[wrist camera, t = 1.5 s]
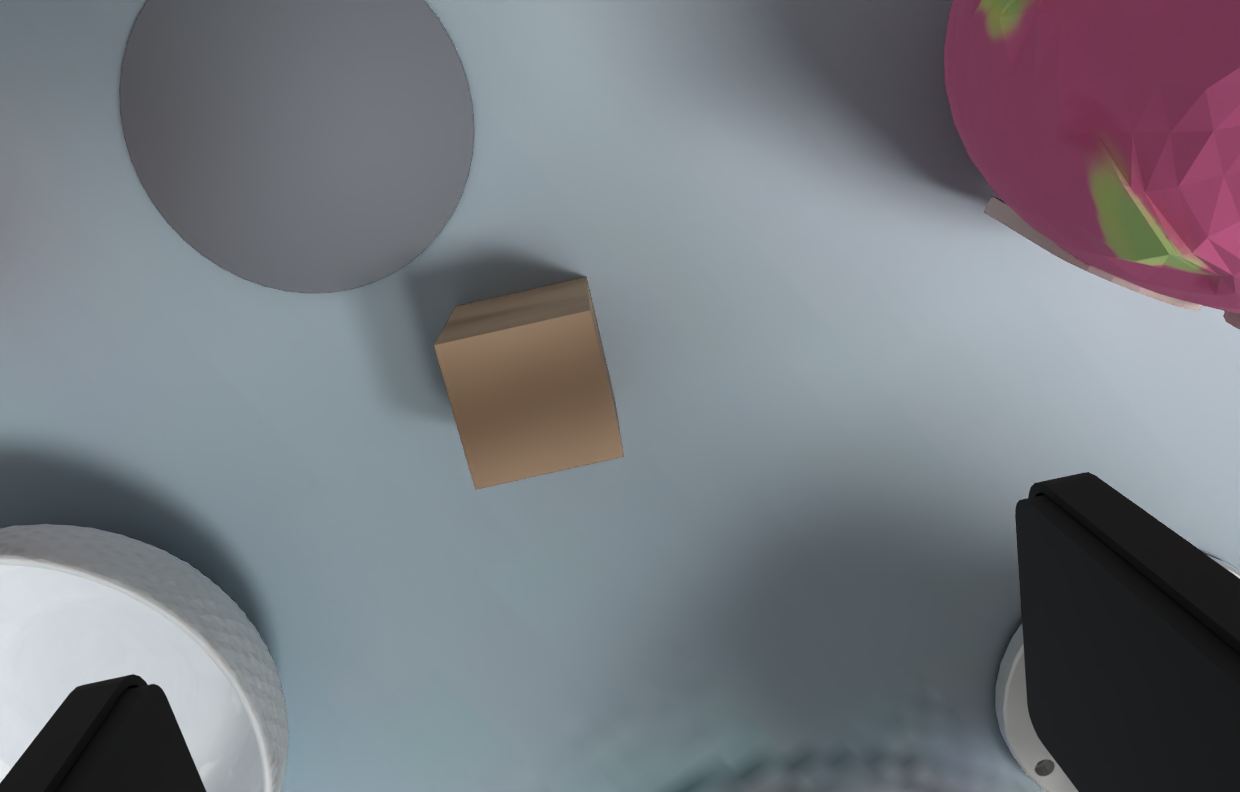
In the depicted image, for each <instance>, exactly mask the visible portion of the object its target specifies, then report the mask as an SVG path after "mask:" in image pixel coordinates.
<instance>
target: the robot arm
mask: <svg viewBox="0 0 1240 792" xmlns="http://www.w3.org/2000/svg"><path fill="white" fill-rule="evenodd" d="M1015 516H1016V532H1017V548H1018V564H1019V580H1020V596H1021V612H1022V624H1021V625H1020V627H1019V628H1018V630H1017V631H1016V633H1015V634H1014V636H1013V637H1012V638H1011V641H1010V643H1009V645H1008V647H1007V650H1006V652H1005V654H1004V657H1003V659H1002V661H1001V664H1000V669H999V673H998V678H997V682H996V703H995V710H996V715H997V719H998V723H999V728H1000V732H1001V734H1002V736H1003V738H1004V740H1005V742H1006V744H1007V746H1008V748H1009V750H1010V752H1011V754H1012V755H1013V756H1014V758H1015V759H1016V760H1017V762H1018V763H1019V765H1020V766H1021V767H1022V769H1023V770H1024V772H1025V773H1026V774H1027V775H1028V776H1029V777H1030V778H1031V779H1032V780H1033V781H1034V782H1035V783H1036V784H1037V785H1039V786H1040V787H1041V788H1042V789H1044V790H1045V791H1047V792H1240V571H1239V570H1237V569H1236V568H1234V567H1233V566H1231V565H1230V564H1228V563H1226V562H1223V561H1221V560H1218V559H1216V558H1213V557H1211V556H1209V555H1206V554H1205V553H1203V552H1202V551H1200V550H1199V549H1198V548H1196V547H1195V546H1193V545H1192V544H1191V543H1189V542H1188V541H1186V540H1185V539H1184V538H1182V537H1181V536H1179V535H1178V534H1177V533H1175V532H1174V531H1172V530H1171V529H1170V528H1168V527H1167V526H1165V525H1164V524H1163V523H1161V522H1160V521H1158V520H1157V519H1155V518H1154V517H1153V516H1151V515H1150V514H1148V513H1147V512H1146V511H1144V510H1143V509H1141V508H1140V507H1139V506H1137V505H1136V504H1134V503H1133V502H1132V501H1130V500H1129V499H1127V498H1126V497H1125V496H1123V495H1122V494H1120V493H1119V492H1118V491H1116V490H1115V489H1113V488H1112V487H1111V486H1109V485H1108V484H1106V483H1105V482H1104V481H1102V480H1101V479H1099V478H1098V477H1097V476H1095V475H1093V474H1091V473H1089V472H1087V473H1081V474H1076V475H1071V476H1067V477H1062V478H1057V479H1052V480H1048V481H1043V482H1038V483H1034V485H1033V486H1032V487H1031V489H1030V492H1029V498H1027V499H1023V500H1020V501H1019V502H1018V503H1017V506H1016V515H1015ZM0 792H206V789H205V787H204V785H203V782H202V780H201V778H200V775H199V773H198V770H197V768H196V766H195V763H194V761H193V758H192V756H191V754H190V751H189V749H188V746H187V744H186V742H185V739H184V737H183V735H182V732H181V730H180V727H179V725H178V723H177V720H176V718H175V715H174V713H173V711H172V708H171V706H170V704H169V701H168V699H167V696H166V695H165V693H164V691H163V689H162V688H161V687H160V686H158V685H156V684H150V685H148V684H147V683H146V681H145V680H143V679H142V678H141V677H140V676H138V675H134V674H132V675H127V676H122V677H118V678H113V679H108V680H104V681H99V682H94V683H89V684H85V685H81V686H77V687H76V688H75V689H74V690H73V691H72V692H70V694H69V695H68V696H67V698H66V699H65V700H64V701H63V703H62V704H61V705H60V707H59V708H58V709H57V710H56V712H55V713H54V714H53V716H52V717H51V718H50V719H49V721H48V722H47V723H46V725H45V726H44V727H43V729H42V730H41V731H40V732H39V734H38V735H37V736H36V738H35V739H34V740H33V741H32V743H31V744H30V745H29V747H28V748H27V749H26V750H25V752H24V753H23V754H22V756H21V757H20V758H19V760H18V761H17V762H16V763H15V765H14V766H13V767H12V769H11V770H10V771H9V772H8V774H7V775H6V776H5V778H4V779H3V780H2V781H1V783H0Z"/></svg>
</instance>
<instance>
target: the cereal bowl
mask: <svg viewBox="0 0 1240 792" xmlns="http://www.w3.org/2000/svg"><path fill="white" fill-rule="evenodd" d="M132 674H134V675H138V676H140V677H141V678H142V679H143V680H145V681H146V683H147V684H148V685H150V684H156V685H158V686H160V687H161V688H162V689H163V691H164V693H165V695H166V696H167V699H168V701H169V704H170V706H171V708H172V711H173V713H174V715H175V718H176V720H177V723H178V725H179V727H180V730H181V732H182V735H183V737H184V739H185V742H186V744H187V746H188V749H189V751H190V754H191V756H192V758H193V761H194V763H195V766H196V768H197V770H198V773H199V775H200V778H201V780H202V782H203V785H204V787H205V789H206V792H282V785H283V782H284V779H285V775H286V763H287V757H288V741H289V733H288V719H287V711H286V702H285V697H284V694H283V691H282V686H281V681H280V677H279V675H278V672H277V667H276V665H275V663H274V662H273V659H272V657H271V656H270V654H269V651H268V648H267V645H266V644H265V643H264V642H263V640H262V638H261V637H260V633H259V632H258V631H257V630H256V628H255V626H254V625H253V624H252V623H251V622H250V621H249V620H248V618H247V616H246V614H245V613H244V612H243V611H242V610H241V609H239V607H238V605H237V603H235V602H234V601H233V600H232V599H231V598H230V597H229V596H228V595H227V594H226V593H224V592H223V591H222V590H221V588H220V587H219V586H218V585H216V584H214V583H213V582H212V581H211V580H210V579H209V578H207V577H206V576H204V575H202V574H201V572H200V571H199V570H198V569H195V568H193V567H192V566H191V565H190V564H189V563H187V562H184V561H182V560H180V559H179V558H177V557H175V556H173V555H171V554H169V553H168V552H167V551H164V550H161V549H159V548H157V547H154V546H153V545H150V544H146V543H143V542H141V541H139V540H136V539H132V538H129V537H126V536H124V535H122V534H116V533H112V532H108V531H102V530H98V529H95V528H87V527H79V526H69V525H50V524H38V525H20V526H10V527H6V528H0V783H1V781H2V780H3V779H4V778H5V776H6V775H7V774H8V772H9V771H10V770H11V769H12V767H13V766H14V765H15V763H16V762H17V761H18V760H19V758H20V757H21V756H22V754H23V753H24V752H25V750H26V749H27V748H28V747H29V745H30V744H31V743H32V741H33V740H34V739H35V738H36V736H37V735H38V734H39V732H40V731H41V730H42V729H43V727H44V726H45V725H46V723H47V722H48V721H49V719H50V718H51V717H52V716H53V714H54V713H55V712H56V710H57V709H58V708H59V707H60V705H61V704H62V703H63V701H64V700H65V699H66V698H67V696H68V695H69V694H70V692H72V691H73V690H74V689H75V688H76V687H77V686H81V685H85V684H89V683H94V682H99V681H104V680H108V679H113V678H118V677H122V676H127V675H132Z"/></svg>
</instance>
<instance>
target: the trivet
mask: <svg viewBox="0 0 1240 792" xmlns="http://www.w3.org/2000/svg"><path fill="white" fill-rule="evenodd" d="M120 112H121V119H122V125H123V131H124V137H125V141H126V144H127V147H128V151H129V154H130V157H131V161H132V163H133V165H134V168H135V170H136V172H137V175H138V177H139V179H140V181H141V184H142V185H143V187H144V189H145V190H146V192H147V194H148V196H149V197H150V199H151V201H152V202H153V204H154V205H155V207H156V208H157V209H158V211H159V212H160V213H161V215H162V216H163V217H164V219H165V220H166V221H167V223H168V224H169V225H170V226H171V227H172V228H173V229H174V230H175V231H176V232H177V233H178V234H179V235H180V236H181V237H182V238H183V240H185V241H186V242H187V243H188V244H189V245H191V246H192V247H193V248H194V249H195V250H196V251H198V252H199V253H200V254H201V255H203V256H204V257H206V258H207V259H209V260H210V261H212V262H213V263H215V264H216V265H218V266H219V267H221V268H223V269H225V270H227V271H229V272H231V273H233V274H235V275H237V276H239V277H241V278H243V279H245V280H248V281H251V282H254V283H257V284H259V285H262V286H266V287H270V288H274V289H279V290H283V291H290V292H300V293H331V292H337V291H343V290H350V289H354V288H357V287H360V286H364V285H367V284H370V283H373V282H375V281H377V280H380V279H382V278H384V277H386V276H388V275H391V274H392V273H394V272H395V271H397V270H399V269H400V268H402V267H403V266H405V265H407V264H408V263H409V262H411V261H412V260H413V259H414V258H415V257H417V256H418V255H419V254H420V253H421V252H423V251H424V250H425V249H426V248H427V247H428V246H429V244H430V243H431V242H432V241H433V240H434V239H435V238H436V237H437V236H438V235H439V233H440V232H441V230H442V229H443V228H444V226H445V225H446V223H447V222H448V220H449V219H450V217H451V216H452V214H453V212H454V210H455V208H456V206H457V204H458V202H459V200H460V198H461V196H462V193H463V190H464V187H465V184H466V181H467V178H468V175H469V170H470V165H471V160H472V155H473V142H474V118H473V105H472V100H471V95H470V89H469V84H468V81H467V78H466V75H465V71H464V68H463V65H462V62H461V60H460V57H459V55H458V53H457V51H456V49H455V46H454V44H453V42H452V40H451V38H450V36H449V35H448V33H447V31H446V30H445V28H444V27H443V25H442V23H441V22H440V20H439V18H438V17H437V16H436V14H435V13H434V12H433V11H432V9H431V8H430V7H429V6H428V4H427V3H426V2H425V1H424V0H148V1H147V2H146V4H145V6H144V8H143V9H142V11H141V13H140V15H139V16H138V18H137V20H136V22H135V25H134V27H133V30H132V32H131V35H130V37H129V40H128V43H127V46H126V51H125V55H124V59H123V64H122V70H121V81H120Z"/></svg>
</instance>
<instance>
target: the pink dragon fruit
mask: <svg viewBox="0 0 1240 792" xmlns="http://www.w3.org/2000/svg"><path fill="white" fill-rule="evenodd" d="M944 72H945V88H946V92H947V97H948V101H949V105H950V109H951V113H952V118H953V121H954V124H955V127H956V129H957V131H958V133H959V135H960V138H961V140H962V142H963V144H964V146H965V148H966V151H967V153H968V155H969V157H970V159H971V160H972V161H973V163H974V164H975V166H976V167H977V168H978V170H979V171H980V173H981V174H982V175H983V177H984V178H985V180H986V181H987V182H988V184H989V185H990V187H991V188H992V189H993V190H994V192H995V193H996V194H997V195H998V196H999V197H1000V198H1001V199H1002V200H1000V199H998V198H995V197H992V196H991V199H990V201H989V203H988V205H987V207H986V209H985V211H984V212H985V213H986V214H988V215H989V216H991V217H993V218H994V219H996V220H998V221H999V222H1001V223H1003V224H1004V225H1006V226H1008V227H1009V228H1011V229H1012V230H1014V231H1016V232H1017V233H1019V234H1021V235H1022V236H1024V237H1026V238H1027V239H1029V240H1030V241H1032V242H1034V243H1035V244H1037V245H1039V246H1040V247H1042V248H1044V249H1045V250H1047V251H1049V252H1050V253H1052V254H1054V255H1056V256H1057V257H1059V258H1061V259H1063V260H1065V261H1067V262H1069V263H1071V264H1073V265H1075V266H1077V267H1079V268H1081V269H1083V270H1085V271H1088V272H1090V273H1092V274H1095V275H1097V276H1099V277H1101V278H1104V279H1106V280H1108V281H1111V282H1113V283H1116V284H1118V285H1121V286H1123V287H1126V288H1128V289H1130V290H1133V291H1135V292H1138V293H1141V294H1144V295H1146V296H1149V297H1152V298H1154V299H1157V300H1160V301H1163V302H1166V303H1169V304H1172V305H1175V306H1178V307H1182V308H1186V309H1190V310H1194V311H1197V310H1201V308H1202V306H1207V307H1212V308H1216V309H1220V310H1224V311H1225V313H1224V318H1225V320H1226V322H1228V323H1229V324H1231V325H1233V326H1234V327H1236V328H1238V329H1240V0H953V3H952V6H951V8H950V12H949V19H948V25H947V32H946V39H945V45H944Z"/></svg>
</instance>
